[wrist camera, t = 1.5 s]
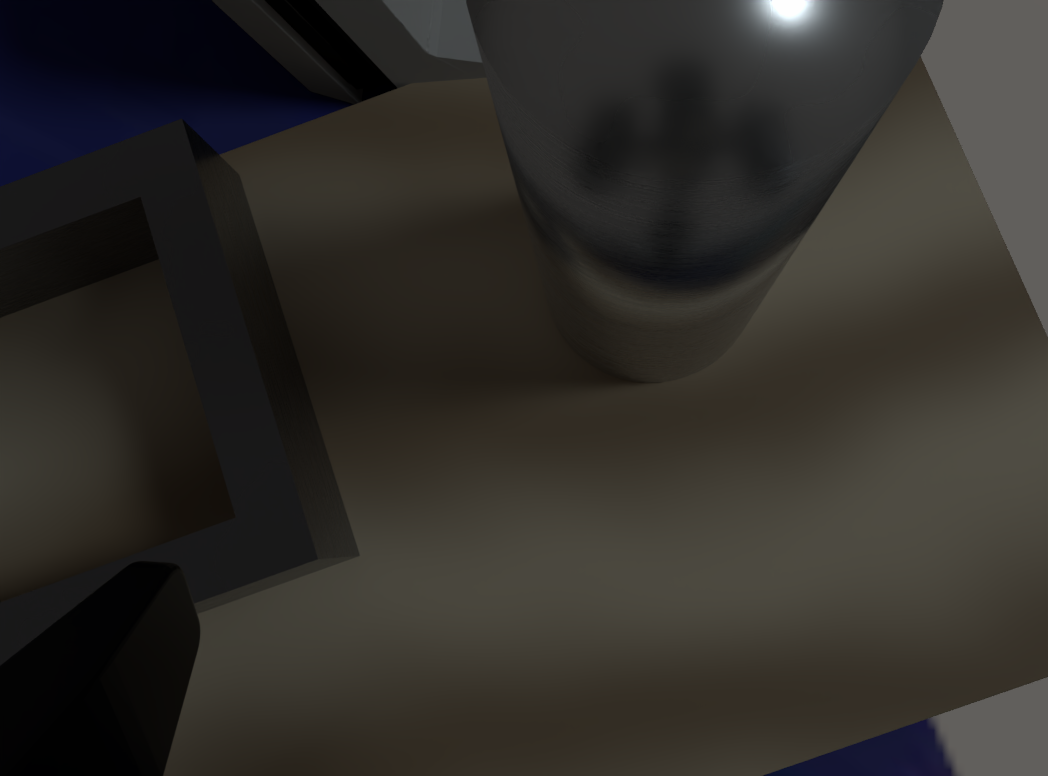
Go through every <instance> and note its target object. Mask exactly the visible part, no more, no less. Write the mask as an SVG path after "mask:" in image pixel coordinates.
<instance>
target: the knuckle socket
mask: <svg viewBox="0 0 1048 776" xmlns="http://www.w3.org/2000/svg"><path fill="white" fill-rule="evenodd" d="M158 259H159V261H160V264H161V267H162V271H163V274H164V277H165V281H166V284H167V288H168V291H169V294H170V298H171V301H172V304H173V308H174V311H175V315H176V318H177V321H178V325H179V328H180V331H181V335H182V338H183V341H184V345H185V348H186V352H187V355H188V358H189V362H190V365H191V368H192V372H193V375H194V378H195V382H196V385H197V389H198V392H199V395H200V399H201V402H202V405H203V409H204V412H205V415H206V419H207V422H208V426H209V429H210V432H211V436H212V439H213V442H214V446H215V449H216V452H217V456H218V459H219V463H220V466H221V469H222V473H223V476H224V479H225V483H226V486H227V489H228V493H229V496H230V500H231V503H232V506H233V510H234V513H235V516H236V518H233V519H230V520H227V521H225V522H222V523H219V524H216V525H214V526H211V527H208V528H205V529H202V530H200V531H197V532H194V533H191V534H189V535H186V536H183V537H180V538H178V539H175V540H172V541H169V542H166V543H164V544H161V545H158V546H155V547H153V548H150V549H147V550H144V551H141V552H139V553H136V554H133V555H130V556H128V557H125V558H122V559H119V560H116V561H114V562H111V563H108V564H105V565H103V566H100V567H97V568H94V569H92V570H89V571H86V572H83V573H80V574H78V575H75V576H72V577H69V578H67V579H64V580H61V581H58V582H55V583H53V584H50V585H47V586H44V587H42V588H39V589H36V590H33V591H31V592H28V593H25V594H22V595H19V596H17V597H14V598H11V599H8V600H6V601H3V602H1V601H0V665H1V664H3V663H4V662H5V661H7V660H8V659H9V658H10V657H12V656H13V655H14V654H15V653H17V652H18V651H19V650H20V649H22V648H23V647H24V646H26V645H27V644H28V643H29V642H31V641H32V640H33V639H34V638H36V637H37V636H38V635H40V634H41V633H42V632H43V631H45V630H46V629H47V628H48V627H50V626H51V625H52V624H53V623H55V622H56V621H57V620H59V619H60V618H61V617H62V616H64V615H65V614H66V613H67V612H69V611H70V610H71V609H72V608H74V607H75V606H76V605H78V604H79V603H80V602H81V601H83V600H84V599H85V598H86V597H88V596H89V595H90V594H91V593H93V592H94V591H95V590H97V589H98V588H99V587H100V586H102V585H103V584H104V583H105V582H107V581H108V580H109V579H111V578H112V577H113V576H114V575H116V574H117V573H118V572H119V571H121V570H122V569H123V568H125V567H126V566H127V565H129V564H131V563H133V562H137V561H152V562H167V563H174V564H177V565H178V566H179V567H180V568H181V569H182V570H183V572H184V574H185V577H186V580H187V583H188V586H189V590H190V593H191V596H192V599H193V602H194V605H195V608H196V611H197V614H199V613H202V612H204V611H207V610H210V609H213V608H216V607H218V606H221V605H224V604H227V603H230V602H232V601H235V600H238V599H241V598H244V597H246V596H249V595H252V594H255V593H258V592H260V591H263V590H266V589H269V588H272V587H274V586H277V585H280V584H283V583H286V582H288V581H291V580H294V579H297V578H300V577H302V576H305V575H308V574H311V573H314V572H316V571H319V570H322V569H325V568H327V567H330V566H333V565H336V564H339V563H341V562H344V561H347V560H350V559H353V558H355V557H358V556H360V554H359V550H358V547H357V544H356V541H355V538H354V535H353V532H352V528H351V525H350V522H349V519H348V516H347V513H346V509H345V506H344V503H343V500H342V497H341V494H340V490H339V487H338V484H337V481H336V478H335V475H334V472H333V468H332V465H331V462H330V459H329V456H328V453H327V449H326V446H325V443H324V440H323V437H322V434H321V431H320V427H319V424H318V421H317V418H316V415H315V412H314V408H313V405H312V402H311V399H310V396H309V393H308V389H307V386H306V383H305V380H304V377H303V374H302V371H301V367H300V364H299V361H298V358H297V355H296V352H295V348H294V345H293V342H292V339H291V336H290V333H289V329H288V326H287V323H286V320H285V317H284V314H283V311H282V307H281V304H280V301H279V298H278V295H277V292H276V288H275V285H274V282H273V279H272V276H271V273H270V269H269V266H268V263H267V260H266V257H265V254H264V251H263V247H262V244H261V241H260V238H259V235H258V232H257V228H256V225H255V222H254V219H253V216H252V213H251V209H250V206H249V203H248V200H247V197H246V194H245V191H244V187H243V184H242V181H241V178H240V175H239V174H238V173H237V172H236V171H235V170H234V169H233V168H232V167H231V166H230V165H229V164H228V163H227V162H226V161H225V160H224V159H223V158H222V157H221V156H220V155H219V154H218V153H217V152H216V151H215V150H214V149H213V148H212V147H211V146H210V145H209V144H208V143H206V142H205V141H204V140H203V139H202V138H201V137H200V136H199V135H198V134H197V133H196V132H195V131H194V130H193V129H192V128H191V127H190V126H189V125H188V124H187V123H186V122H185V121H184V120H183V119H180V120H177V121H174V122H172V123H169V124H166V125H164V126H161V127H158V128H156V129H153V130H150V131H148V132H145V133H142V134H140V135H137V136H134V137H132V138H129V139H126V140H124V141H121V142H118V143H116V144H113V145H110V146H108V147H105V148H102V149H100V150H97V151H94V152H92V153H89V154H86V155H84V156H81V157H78V158H76V159H73V160H70V161H68V162H65V163H62V164H60V165H57V166H54V167H52V168H49V169H46V170H44V171H41V172H38V173H36V174H33V175H30V176H28V177H25V178H22V179H20V180H17V181H14V182H12V183H9V184H6V185H4V186H1V187H0V318H1V317H4V316H6V315H9V314H12V313H15V312H17V311H20V310H23V309H25V308H28V307H31V306H33V305H36V304H39V303H42V302H44V301H47V300H50V299H52V298H55V297H58V296H60V295H63V294H66V293H69V292H71V291H74V290H77V289H79V288H82V287H85V286H87V285H90V284H93V283H96V282H98V281H101V280H104V279H106V278H109V277H112V276H114V275H117V274H120V273H123V272H125V271H128V270H131V269H133V268H136V267H139V266H141V265H144V264H147V263H150V262H152V261H155V260H158Z"/></svg>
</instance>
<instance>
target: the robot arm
mask: <svg viewBox="0 0 1048 776" xmlns="http://www.w3.org/2000/svg"><path fill="white" fill-rule="evenodd" d="M200 632H201V630H200V622H199V618H198V614H197V611H196V608H195V605H194V602H193V599H192V596H191V593H190V590H189V586H188V583H187V580H186V577H185V574H184V572H183V570H182V569H181V568H180V567H179V566H178V565H177V564H174V563H167V562H152V561H137V562H133V563H131V564H129V565H127V566H126V567H125V568H123V569H122V570H121V571H119V572H118V573H117V574H116V575H114V576H113V577H112V578H111V579H109V580H108V581H107V582H105V583H104V584H103V585H102V586H100V587H99V588H98V589H97V590H95V591H94V592H93V593H91V594H90V595H89V596H88V597H86V598H85V599H84V600H83V601H81V602H80V603H79V604H78V605H76V606H75V607H74V608H72V609H71V610H70V611H69V612H67V613H66V614H65V615H64V616H62V617H61V618H60V619H59V620H57V621H56V622H55V623H53V624H52V625H51V626H50V627H48V628H47V629H46V630H45V631H43V632H42V633H41V634H40V635H38V636H37V637H36V638H34V639H33V640H32V641H31V642H29V643H28V644H27V645H26V646H24V647H23V648H22V649H20V650H19V651H18V652H17V653H15V654H14V655H13V656H12V657H10V658H9V659H8V660H7V661H5V662H4V663H3V664H1V665H0V776H163V775H164V772H165V768H166V764H167V761H168V757H169V754H170V750H171V746H172V743H173V739H174V735H175V732H176V728H177V725H178V721H179V717H180V714H181V710H182V706H183V703H184V699H185V696H186V692H187V688H188V685H189V681H190V677H191V674H192V670H193V667H194V663H195V659H196V656H197V652H198V648H199V643H200Z"/></svg>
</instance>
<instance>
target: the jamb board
mask: <svg viewBox="0 0 1048 776" xmlns="http://www.w3.org/2000/svg"><path fill="white" fill-rule="evenodd" d="M220 156H221V157H222V158H223V159H224V160H225V161H226V162H227V163H228V164H229V165H230V166H231V167H232V168H233V169H234V170H235V171H236V172H237V173H238V174H239V175H240V178H241V181H242V184H243V187H244V191H245V194H246V197H247V200H248V203H249V206H250V209H251V213H252V216H253V219H254V222H255V225H256V228H257V232H258V235H259V238H260V241H261V244H262V247H263V251H264V254H265V257H266V260H267V263H268V266H269V269H270V273H271V276H272V279H273V282H274V285H275V288H276V292H277V295H278V298H279V301H280V304H281V307H282V311H283V314H284V317H285V320H286V323H287V326H288V329H289V333H290V336H291V339H292V342H293V345H294V348H295V352H296V355H297V358H298V361H299V364H300V367H301V371H302V374H303V377H304V380H305V383H306V386H307V389H308V393H309V396H310V399H311V402H312V405H313V408H314V412H315V415H316V418H317V421H318V424H319V427H320V431H321V434H322V437H323V440H324V443H325V446H326V449H327V453H328V456H329V459H330V462H331V465H332V468H333V472H334V475H335V478H336V481H337V484H338V487H339V490H340V494H341V497H342V500H343V503H344V506H345V509H346V513H347V516H348V519H349V522H350V525H351V528H352V532H353V535H354V538H355V541H356V544H357V547H358V550H359V554H360V556H358V557H355V558H353V559H350V560H347V561H344V562H341V563H339V564H336V565H333V566H330V567H327V568H325V569H322V570H319V571H316V572H314V573H311V574H308V575H305V576H302V577H300V578H297V579H294V580H291V581H288V582H286V583H283V584H280V585H277V586H274V587H272V588H269V589H266V590H263V591H260V592H258V593H255V594H252V595H249V596H246V597H244V598H241V599H238V600H235V601H232V602H230V603H227V604H224V605H221V606H218V607H216V608H213V609H210V610H207V611H204V612H202V613H199V614H198V618H199V622H200V630H201V632H200V643H199V648H198V652H197V656H196V659H195V663H194V667H193V670H192V674H191V677H190V681H189V685H188V688H187V692H186V696H185V699H184V703H183V706H182V710H181V714H180V717H179V721H178V725H177V728H176V732H175V735H174V739H173V743H172V746H171V750H170V754H169V757H168V761H167V764H166V768H165V772H164V775H163V776H763V775H765V774H768V773H771V772H774V771H777V770H780V769H783V768H786V767H789V766H791V765H794V764H797V763H800V762H803V761H806V760H809V759H812V758H815V757H817V756H820V755H823V754H826V753H829V752H832V751H835V750H838V749H841V748H844V747H846V746H849V745H852V744H855V743H858V742H861V741H864V740H867V739H870V738H872V737H875V736H878V735H881V734H884V733H887V732H890V731H893V730H896V729H899V728H901V727H904V726H907V725H910V724H913V723H916V722H919V721H922V720H925V719H927V718H930V717H933V716H936V715H939V714H942V713H945V712H948V711H951V710H954V709H956V708H959V707H962V706H965V705H968V704H971V703H974V702H977V701H980V700H982V699H985V698H988V697H991V696H994V695H997V694H1000V693H1003V692H1006V691H1008V690H1011V689H1014V688H1017V687H1020V686H1023V685H1026V684H1029V683H1031V682H1034V681H1037V680H1040V679H1043V678H1046V677H1048V337H1047V335H1046V333H1045V330H1044V328H1043V326H1042V324H1041V321H1040V319H1039V317H1038V315H1037V313H1036V310H1035V308H1034V306H1033V304H1032V302H1031V299H1030V297H1029V295H1028V293H1027V291H1026V288H1025V286H1024V284H1023V282H1022V280H1021V277H1020V275H1019V273H1018V271H1017V268H1016V266H1015V264H1014V262H1013V260H1012V257H1011V255H1010V253H1009V251H1008V249H1007V246H1006V244H1005V242H1004V240H1003V238H1002V236H1001V234H1000V231H999V229H998V227H997V224H996V222H995V220H994V218H993V215H992V213H991V211H990V209H989V207H988V204H987V202H986V200H985V198H984V196H983V193H982V191H981V189H980V187H979V185H978V182H977V180H976V178H975V176H974V174H973V171H972V169H971V167H970V165H969V163H968V160H967V158H966V156H965V154H964V152H963V149H962V147H961V145H960V143H959V140H958V138H957V136H956V134H955V132H954V129H953V127H952V125H951V123H950V121H949V118H948V117H947V114H946V112H945V109H944V107H943V105H942V103H941V101H940V98H939V96H938V94H937V92H936V90H935V87H934V85H933V83H932V81H931V79H930V76H929V74H928V72H927V70H926V68H925V65H924V63H923V61H922V59H921V56H920V58H919V60H918V61H917V63H916V65H915V66H914V68H913V69H912V71H911V73H910V74H909V76H908V77H907V79H906V80H905V82H904V83H903V85H902V86H901V88H900V90H899V91H898V93H897V94H896V96H895V97H894V99H893V100H892V102H891V103H890V105H889V107H888V108H887V110H886V111H885V113H884V114H883V116H882V117H881V119H880V120H879V122H878V124H877V125H876V127H875V128H874V130H873V131H872V133H871V134H870V136H869V137H868V139H867V140H866V142H865V144H864V145H863V147H862V148H861V150H860V151H859V153H858V154H857V156H856V157H855V159H854V161H853V162H852V164H851V165H850V167H849V168H848V170H847V171H846V173H845V174H844V176H843V178H842V179H841V181H840V182H839V184H838V185H837V187H836V188H835V190H834V191H833V193H832V195H831V196H830V198H829V199H828V201H827V202H826V204H825V205H824V207H823V208H822V210H821V212H820V213H819V215H818V216H817V218H816V219H815V221H814V222H813V224H812V225H811V227H810V228H809V230H808V232H807V233H806V235H805V236H804V238H803V239H802V241H801V242H800V244H799V245H798V247H797V249H796V250H795V252H794V253H793V255H792V256H791V258H790V259H789V261H788V262H787V264H786V266H785V267H784V269H783V270H782V272H781V273H780V275H779V276H778V278H777V279H776V281H775V283H774V284H773V286H772V287H771V289H770V290H769V292H768V293H767V295H766V296H765V298H764V299H763V301H762V303H761V304H760V306H759V307H758V309H757V310H756V312H755V313H754V315H753V316H752V318H751V320H750V321H749V323H748V324H747V326H746V327H745V329H744V330H743V332H742V333H741V335H740V336H739V338H738V339H737V340H736V342H735V343H734V344H733V346H732V347H731V348H730V349H729V350H728V351H727V352H726V353H725V354H724V355H723V356H722V357H720V358H719V359H718V360H717V361H715V362H714V363H713V364H711V365H710V366H708V367H706V368H705V369H703V370H701V371H699V372H697V373H695V374H692V375H690V376H688V377H684V378H681V379H677V380H674V381H667V382H661V383H642V382H633V381H628V380H624V379H620V378H617V377H614V376H612V375H609V374H606V373H604V372H602V371H600V370H599V369H597V368H595V367H593V366H592V365H590V364H589V363H588V362H586V361H585V360H583V359H582V358H581V357H580V356H579V355H578V354H577V353H576V352H575V351H574V350H573V349H572V348H571V347H570V346H569V345H568V343H567V342H566V341H565V340H564V338H563V337H562V335H561V334H560V332H559V330H558V329H557V327H556V325H555V322H554V320H553V318H552V316H551V312H550V309H549V305H548V302H547V298H546V295H545V291H544V287H543V284H542V280H541V276H540V273H539V269H538V265H537V262H536V258H535V254H534V251H533V247H532V243H531V240H530V236H529V232H528V229H527V225H526V221H525V218H524V214H523V210H522V207H521V203H520V199H519V195H518V192H517V188H516V184H515V181H514V177H513V173H512V170H511V166H510V162H509V159H508V155H507V151H506V148H505V144H504V140H503V137H502V133H501V129H500V126H499V122H498V118H497V115H496V111H495V107H494V104H493V100H492V96H491V93H490V89H489V85H488V82H487V78H476V79H462V80H449V81H435V82H422V83H411V84H408V85H405V86H403V87H400V88H397V89H395V90H392V91H389V92H387V93H384V94H381V95H379V96H376V97H373V98H371V99H368V100H365V101H363V102H360V103H357V104H355V105H352V106H349V107H346V108H344V109H341V110H338V111H336V112H333V113H330V114H328V115H325V116H322V117H320V118H317V119H314V120H312V121H309V122H306V123H304V124H301V125H298V126H296V127H293V128H290V129H288V130H285V131H282V132H279V133H277V134H274V135H271V136H269V137H266V138H263V139H261V140H258V141H255V142H253V143H250V144H247V145H245V146H242V147H239V148H237V149H234V150H231V151H229V152H226V153H223V154H221V155H220ZM233 518H236V516H235V513H234V510H233V506H232V503H231V500H230V496H229V493H228V489H227V486H226V483H225V479H224V476H223V473H222V469H221V466H220V463H219V459H218V456H217V452H216V449H215V446H214V442H213V439H212V436H211V432H210V429H209V426H208V422H207V419H206V415H205V412H204V409H203V405H202V402H201V399H200V395H199V392H198V389H197V385H196V382H195V378H194V375H193V372H192V368H191V365H190V362H189V358H188V355H187V352H186V348H185V345H184V341H183V338H182V335H181V331H180V328H179V325H178V321H177V318H176V315H175V311H174V308H173V304H172V301H171V298H170V294H169V291H168V288H167V284H166V281H165V277H164V274H163V271H162V267H161V264H160V261H159V259H158V260H155V261H152V262H150V263H147V264H144V265H141V266H139V267H136V268H133V269H131V270H128V271H125V272H123V273H120V274H117V275H114V276H112V277H109V278H106V279H104V280H101V281H98V282H96V283H93V284H90V285H87V286H85V287H82V288H79V289H77V290H74V291H71V292H69V293H66V294H63V295H60V296H58V297H55V298H52V299H50V300H47V301H44V302H42V303H39V304H36V305H33V306H31V307H28V308H25V309H23V310H20V311H17V312H15V313H12V314H9V315H6V316H4V317H1V318H0V601H1V602H3V601H6V600H8V599H11V598H14V597H17V596H19V595H22V594H25V593H28V592H31V591H33V590H36V589H39V588H42V587H44V586H47V585H50V584H53V583H55V582H58V581H61V580H64V579H67V578H69V577H72V576H75V575H78V574H80V573H83V572H86V571H89V570H92V569H94V568H97V567H100V566H103V565H105V564H108V563H111V562H114V561H116V560H119V559H122V558H125V557H128V556H130V555H133V554H136V553H139V552H141V551H144V550H147V549H150V548H153V547H155V546H158V545H161V544H164V543H166V542H169V541H172V540H175V539H178V538H180V537H183V536H186V535H189V534H191V533H194V532H197V531H200V530H202V529H205V528H208V527H211V526H214V525H216V524H219V523H222V522H225V521H227V520H230V519H233Z"/></svg>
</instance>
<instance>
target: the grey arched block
mask: <svg viewBox="0 0 1048 776" xmlns="http://www.w3.org/2000/svg"><path fill="white" fill-rule="evenodd" d="M212 1H213V2H214V3H215V4H216V5H217V6H218V7H219V8H220V9H222V10H223V11H224V12H225V13H226V14H227V15H228V16H229V17H230V18H231V19H232V20H233V21H235V22H236V23H237V24H238V25H239V26H240V27H241V28H242V29H243V30H244V31H245V32H246V33H248V34H249V35H250V36H251V37H252V38H253V39H254V40H255V41H256V42H257V43H258V44H259V45H261V46H262V47H263V48H264V49H265V50H266V51H267V52H268V53H269V54H270V55H271V56H272V57H274V58H275V59H276V60H277V61H278V62H279V63H280V64H281V65H282V66H283V67H284V68H285V69H287V70H288V71H289V72H290V73H291V74H292V75H293V76H294V77H295V78H296V79H297V80H298V81H300V82H301V83H302V84H303V85H304V86H305V87H306V88H307V89H308V90H309V91H311V92H314V93H318V94H321V95H324V96H328V97H331V98H335V99H338V100H342V101H345V102H349V103H352V104H357V103H360V102H362V94H363V88H370V87H372V79H373V71H374V70H375V71H376V73H377V74H378V75H379V76H380V77H381V78H382V79H383V80H384V81H385V82H386V83H387V84H388V85H395V86H396V87H397V88H400V87H403V86H405V85H408V84H411V83H422V82H435V81H449V80H462V79H476V78H486V74H485V71H484V67H483V63H482V60H481V56H480V52H479V49H478V45H477V41H476V38H475V34H474V30H473V26H472V23H471V19H470V15H469V12H468V8H467V4H466V0H212Z"/></svg>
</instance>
